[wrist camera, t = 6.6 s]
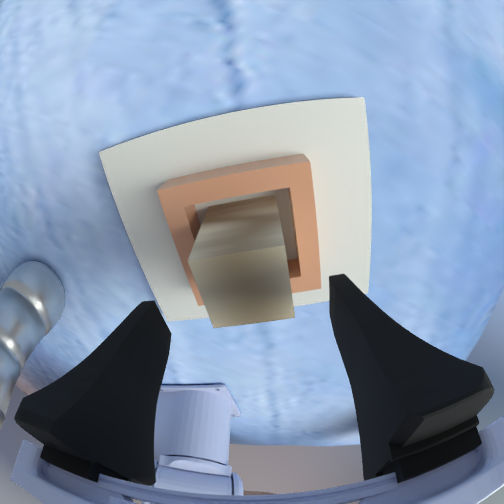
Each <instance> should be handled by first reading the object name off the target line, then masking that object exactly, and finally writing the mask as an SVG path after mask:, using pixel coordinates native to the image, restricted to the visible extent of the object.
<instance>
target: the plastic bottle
mask: <svg viewBox="0 0 504 504" xmlns="http://www.w3.org/2000/svg"><path fill="white" fill-rule="evenodd" d="M64 308H65V292H64V288H63V285H62V283H61V281H60V280H59V278H58V276H57V275H56V274H55V273H54V272H53V271H52V270H51V269H50V268H49V267H48V266H46V265H45V264H43V263H41V262H38V261H27V262H24V263H23V264H21V265H20V266H18V267H17V268H15V269H14V270H13V271H12V272H11V274H10V275H9V277H8V278H7V280H6V281H5V283H4V285H3V287H2V288H1V291H0V429H1V428H2V425H3V422H4V420H5V415H6V412H7V408H8V405H9V401H10V398H11V395H12V391H13V388H14V386H15V384H16V381H17V379H18V377H19V375H20V371H21V369H23V366H24V364H25V362H26V360H27V359H28V357H29V356H30V355H31V353H32V352H33V350H34V349H35V348H36V346H37V345H38V344H39V342H40V341H41V340H42V338H43V337H44V336H45V335H46V334H47V333H48V332H49V331H50V330H51V329H52V328H53V327H54V326H55V325H56V324H57V322H58V321H59V320H60V317H61V315H62V313H63V310H64Z"/></svg>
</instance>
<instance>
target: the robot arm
mask: <svg viewBox="0 0 504 504" xmlns="http://www.w3.org/2000/svg"><path fill="white" fill-rule="evenodd" d="M329 303H330V318H331V323H332V327H333V332H334V336H335V339H336V342H337V345H338V348H339V351H340V354H341V357H342V360H343V363H344V366H345V369H346V372H347V375H348V378H349V381H350V385H351V388H352V393H353V398H354V403H355V409H356V415H357V421H358V427H359V435H360V443H361V451H362V462H363V476H364V481H361V482H357V483H353V484H348V485H343V486H338V487H333V488H327V489H321V490H315V491H307V492H299V493H289V494H276V495H243V484H242V480H241V478H240V477H239V476H238V475H237V474H236V473H231V470H232V469H231V468H232V467H231V466H228V458H229V440H230V422H231V417H239V416H240V411H239V409H238V407H237V406H236V404H235V402H234V400H233V398H232V396H231V394H230V392H229V391H228V389H227V387H226V386H225V385H191V386H167V385H161V384H162V380H163V376H164V372H165V368H166V364H167V360H168V356H169V350H170V341H171V332H170V330H169V328H168V326H167V325H166V323H165V321H164V319H163V317H162V315H161V313H160V311H159V309H158V307H157V305H156V303H155V301H144V302H141V303H140V304H139V305H138V306H137V307H136V308H135V309H134V310H133V311H132V312H131V313H130V314H129V315H128V316H127V317H126V318H125V319H124V321H123V322H122V323H121V324H120V325H119V326H118V327H117V328H116V329H115V330H114V331H113V332H112V333H111V334H110V335H109V336H108V337H107V338H106V339H105V340H104V341H103V342H102V343H101V344H100V345H99V346H98V347H97V348H96V349H95V350H94V351H93V352H92V353H91V354H90V355H89V356H88V357H87V358H85V359H84V360H83V361H82V362H81V363H80V364H78V365H77V366H76V367H74V368H73V369H72V370H70V371H69V372H68V373H66V374H65V375H64V376H62V377H61V378H59V379H58V380H56V381H55V382H53V383H51V384H50V385H48V386H46V387H44V388H43V389H41V390H39V391H37V392H35V393H32V394H30V395H28V396H26V397H24V398H23V399H22V401H21V403H20V406H19V408H18V410H17V412H16V415H15V417H14V419H15V421H16V423H17V424H18V425H20V427H21V428H23V429H24V430H25V431H26V432H28V433H29V434H30V435H32V436H33V437H35V438H36V439H37V440H39V441H40V442H42V443H43V444H44V446H43V449H42V448H40V447H38V446H36V445H34V444H32V443H30V442H28V441H26V440H23V442H22V444H21V447H20V450H19V453H18V456H17V459H16V462H15V465H14V469H13V472H12V475H11V480H12V481H13V482H14V483H16V484H17V485H18V486H20V487H21V488H23V489H24V490H25V491H27V492H28V493H29V494H31V495H32V496H33V497H35V498H36V499H38V500H39V501H40V502H42V503H43V504H136V503H134V502H133V500H132V499H136V500H140V501H141V502H142V504H347V503H352V502H356V501H360V500H361V501H360V502H359V503H358V504H478V503H480V502H481V501H483V500H484V499H486V498H487V497H488V496H490V495H491V494H493V493H494V492H496V491H497V490H498V489H500V488H501V487H502V486H504V416H503V417H501V418H500V419H498V420H497V421H495V422H493V423H492V424H490V425H488V426H487V427H485V428H484V429H483V430H481V431H480V432H478V430H477V428H476V426H477V425H478V424H479V420H478V417H477V414H478V413H479V412H480V411H481V409H482V408H483V407H484V406H485V405H486V404H487V403H488V402H489V400H490V399H491V398H492V396H493V393H494V388H493V386H492V384H491V382H490V380H489V377H488V376H487V374H486V372H485V371H484V369H483V368H482V367H480V366H477V365H475V364H472V363H469V362H467V361H464V360H461V359H459V358H456V357H454V356H452V355H450V354H448V353H446V352H443V351H441V350H440V349H438V348H436V347H434V346H432V345H430V344H429V343H427V342H425V341H423V340H422V339H420V338H418V337H417V336H415V335H414V334H412V333H411V332H409V331H408V330H406V329H405V328H404V327H402V326H401V325H400V324H398V323H397V322H396V321H394V320H393V319H392V318H391V317H389V316H388V315H387V314H386V313H385V312H383V311H382V310H381V309H380V308H379V307H378V306H377V305H376V304H375V303H374V302H372V301H371V300H370V299H369V298H368V297H367V296H366V295H365V294H364V293H363V292H362V291H361V290H360V289H359V288H358V287H357V286H356V285H355V284H354V283H353V282H352V281H351V280H350V279H349V278H348V277H347V276H346V275H345V274H338V275H332V276H329ZM124 480H125V481H124ZM128 481H129V482H128ZM132 482H133V483H132ZM141 484H142V485H141ZM131 498H132V499H131Z"/></svg>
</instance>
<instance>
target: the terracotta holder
mask: <svg viewBox="0 0 504 504" xmlns="http://www.w3.org/2000/svg"><path fill="white" fill-rule="evenodd" d="M283 188H288V195H289V202H290V209H291V216H292V223H293V231H294V238H295V246H296V254H297V259H292V260H287V263H288V270H289V277H290V284H291V291H292V293H298V292H304V291H310V290H316V289H321V272H320V256H319V242H318V229H317V218H316V208H315V198H314V189H313V180H312V171H311V164H310V161H309V159H308V158H307V157H306V156H305V155H304V154H298V155H291V156H284V157H278V158H272V159H265V160H260V161H254V162H248V163H243V164H237V165H232V166H227V167H222V168H217V169H212V170H208V171H203V172H199V173H194V174H190V175H186V176H182V177H177V178H173V179H169V180H167V181H166V182H165V183H164V184H163V185H162V186H161V187H160V188H159V189H158V190H157V193H158V196H159V199H160V202H161V205H162V208H163V211H164V214H165V217H166V220H167V223H168V226H169V229H170V232H171V235H172V238H173V240H174V243H175V246H176V249H177V252H178V254H179V257H180V260H181V263H182V265H183V268H184V271H185V273H186V276H187V278H188V281H189V284H190V286H191V289H192V291H193V294H194V296H195V299H196V301H197V304H198V306H202V305H204V303H203V300H202V298H201V295H200V292H199V290H198V287H197V285H196V282H195V279H194V277H193V274H192V271H191V269H190V266H189V263H188V259H189V256H190V253H191V251H192V248H193V245H194V243H195V240H196V237H197V235H198V232H199V230H200V227H201V225H200V222H199V219H198V215H197V212H196V208H195V205H194V204H199V203H204V202H209V201H214V200H219V199H225V198H230V197H235V196H241V195H246V194H252V193H258V192H264V191H270V190H276V189H283Z"/></svg>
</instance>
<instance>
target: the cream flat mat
mask: <svg viewBox="0 0 504 504" xmlns="http://www.w3.org/2000/svg"><path fill="white" fill-rule="evenodd" d="M298 154H304V155H305V156H306V157H307V158H308V159H309V161H310V164H311V171H312V180H313V189H314V198H315V208H316V218H317V229H318V242H319V256H320V272H321V289H316V290H310V291H304V292H298V293H292V298H293V306H294V307H295V306H301V305H307V304H313V303H319V302H325V301H329V276H332V275H338V274H345V275H346V276H347V277H348V278H349V279H350V280H351V281H352V282H353V283H354V284H355V285H356V286H357V287H358V288H359V289H360V290H361V291H362V292H363V293H364V294H368V286H369V273H370V255H371V221H372V202H371V168H370V151H369V138H368V127H367V117H366V109H365V101H364V97H350V98H332V99H319V100H308V101H299V102H290V103H283V104H275V105H269V106H262V107H256V108H251V109H245V110H240V111H235V112H230V113H225V114H220V115H216V116H211V117H207V118H203V119H199V120H195V121H191V122H187V123H184V124H180V125H176V126H173V127H169V128H166V129H163V130H159V131H156V132H153V133H150V134H147V135H144V136H141V137H138V138H135V139H132V140H129V141H126V142H123V143H121V144H118V145H115V146H113V147H110V148H107V149H105V150H103V151H100V152H99V155H100V158H101V161H102V165H103V168H104V171H105V174H106V177H107V180H108V183H109V186H110V189H111V192H112V195H113V198H114V200H115V203H116V206H117V209H118V211H119V214H120V217H121V219H122V222H123V224H124V227H125V229H126V232H127V234H128V237H129V239H130V242H131V244H132V247H133V249H134V251H135V254H136V256H137V258H138V261H139V263H140V265H141V267H142V270H143V272H144V274H145V276H146V279H147V281H148V283H149V285H150V287H151V289H152V291H153V293H154V296H155V298H156V300H157V302H158V304H159V306H160V308H161V310H162V312H163V314H164V316H165V318H166V320H167V321H179V320H190V319H200V318H209V315H208V313H207V310H206V308H205V305H202V306H198V304H197V301H196V299H195V296H194V294H193V291H192V289H191V286H190V284H189V281H188V278H187V276H186V273H185V271H184V268H183V265H182V263H181V260H180V257H179V254H178V252H177V249H176V246H175V243H174V240H173V238H172V235H171V232H170V229H169V226H168V223H167V220H166V217H165V214H164V211H163V208H162V205H161V202H160V199H159V196H158V193H157V190H158V189H159V188H160V187H161V186H162V185H163V184H164V183H165V182H166V181H167V180H169V179H173V178H177V177H182V176H186V175H190V174H194V173H199V172H203V171H208V170H212V169H217V168H222V167H227V166H232V165H237V164H243V163H248V162H254V161H260V160H265V159H272V158H278V157H284V156H291V155H298ZM274 194H275V197H276V202H277V207H278V212H279V217H280V222H281V228H282V233H283V238H284V243H285V250H286V256H287V260H292V259H297V254H296V246H295V238H294V231H293V223H292V216H291V209H290V202H289V195H288V188H283V189H276V190H270V191H264V192H258V193H252V194H246V195H241V196H235V197H230V198H225V199H219V200H214V201H209V202H204V203H199V204H194V205H195V208H196V212H197V215H198V219H199V222H200V225H201V224H202V222H203V219H204V217H205V214H206V212H207V209H208V207H209V206H213V205H219V204H224V203H229V202H234V201H240V200H245V199H251V198H256V197H262V196H268V195H274Z"/></svg>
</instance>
